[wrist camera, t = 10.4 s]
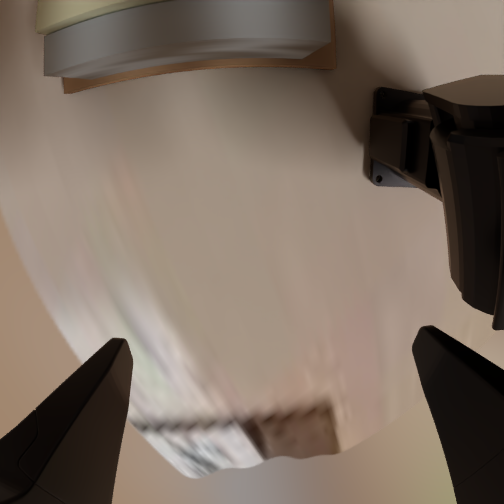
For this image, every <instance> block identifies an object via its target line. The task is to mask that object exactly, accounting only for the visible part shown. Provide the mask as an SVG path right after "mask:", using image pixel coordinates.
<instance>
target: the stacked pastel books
mask: <svg viewBox="0 0 504 504" xmlns="http://www.w3.org/2000/svg"><path fill="white" fill-rule="evenodd" d="M35 32H36V33H40V34H44V35H47V36H44V76H53V77H64V94H72V93H75V92H79V91H83V90H86V89H90V88H94V87H98V86H102V85H107V84H111V83H115V82H120V81H125V80H130V79H135V78H141V77H147V76H153V75H160V74H166V73H174V72H182V71H192V70H202V69H215V68H234V67H293V68H311V69H324V70H333V69H336V39H335V20H334V6H333V0H38V6H37V15H36V27H35Z"/></svg>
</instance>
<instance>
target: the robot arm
mask: <svg viewBox="0 0 504 504" xmlns="http://www.w3.org/2000/svg"><path fill="white" fill-rule="evenodd" d="M381 91H382V92H383V93H384V97H383V98H381V97H380V92H381ZM422 92H423V95H421V94H417V93H412V92H407V91H402V90H397V89H391V88H385V87H378V88H376V89H375V91H374V106H373V116H372V117H371V122H370V145H369V155H370V157H371V169H370V181H371V182H372V183H373V184H374V185H376V186H387V187H413V188H419V189H421V190H423V191H425V192H426V193H428V194H430V195H431V196H433V197H435V198H437V199H438V200H440V201H441V202H443V208H444V216H445V224H446V233H447V243H448V256H449V267H450V273H451V278H452V280H453V281H454V283H455V284H456V286H457V288H458V289H459V291H460V292H461V293H462V299H463V300H464V301H465V302H466V303H468V304H469V305H470V306H472V307H473V308H475V309H478V310H480V311H482V312H484V313H487V314H490V315H494V317H493V323H492V328H493V329H494V330H504V75H479V76H475V77H470V78H466V79H462V80H458V81H454V82H450V83H447V84H443V85H439V86H436V87H432V88H429V89H425V90H423V91H422ZM378 175H380V179H379V180H378V181H376V177H377V176H378ZM412 352H413V356H414V359H415V363H416V366H417V370H418V374H419V377H420V381H421V385H422V388H423V391H424V394H425V397H426V400H427V402H428V405H429V408H430V411H431V414H432V417H433V420H434V423H435V425H436V429H437V432H438V435H439V438H440V441H441V444H442V448H443V451H444V454H445V458H446V461H447V465H448V469H449V472H450V476H451V480H452V484H453V487H454V493H455V497H456V501H457V504H504V370H503V369H501V368H500V367H498V366H497V365H495V364H494V363H492V362H491V361H489V360H487V359H486V358H484V357H483V356H481V355H480V354H478V353H476V352H475V351H473V350H472V349H470V348H468V347H467V346H465V345H464V344H462V343H460V342H459V341H457V340H456V339H454V338H452V337H451V336H449V335H447V334H446V333H444V332H443V331H441V330H439V329H438V328H436V327H434V326H432V325H428V326H423V327H421V328H420V329H419V331H418V334H417V336H416V338H415V340H414V342H413V345H412ZM132 370H133V358H132V355H131V351H130V348H129V345H128V342H127V340H126V339H124V338H112V339H110V340H109V341H108V342H107V343H106V344H105V345H104V346H103V347H101V348H100V349H99V350H98V351H97V352H96V353H95V354H94V355H93V356H91V357H90V358H89V359H88V360H87V361H86V362H85V363H84V364H83V365H82V366H80V367H79V368H78V369H77V370H76V371H75V372H74V373H73V374H72V375H71V376H70V377H68V379H66V380H65V381H64V382H63V383H62V384H61V385H60V386H59V387H58V388H57V389H56V390H55V391H53V392H52V393H51V394H50V395H49V396H48V397H47V398H46V399H45V400H44V401H43V402H42V403H41V404H40V405H39V406H38V407H36V410H33V411H32V412H31V413H30V414H29V415H28V416H27V417H26V418H25V419H24V420H22V421H21V422H20V423H19V424H18V425H17V426H16V427H15V428H13V429H12V430H11V431H10V432H9V433H7V434H6V435H5V436H4V437H2V438H1V439H0V504H112V497H113V489H114V483H115V477H116V471H117V464H118V459H119V454H120V448H121V443H122V438H123V433H124V427H125V423H126V418H127V413H128V407H129V397H130V388H131V379H132Z"/></svg>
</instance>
